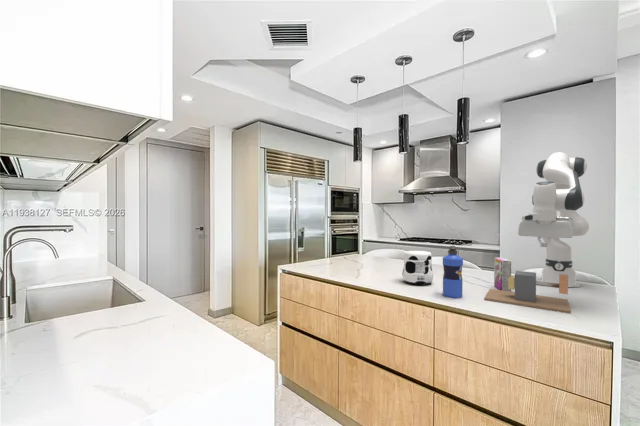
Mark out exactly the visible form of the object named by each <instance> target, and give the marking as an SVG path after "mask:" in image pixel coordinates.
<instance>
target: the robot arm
mask: <svg viewBox="0 0 640 426" xmlns="http://www.w3.org/2000/svg"><path fill="white" fill-rule="evenodd" d="M587 169H588V165H587V162H586V160H585V158H583V157H578V156H576V157H569V155H568V154H567V153H565V152H562V151H561V152H560V151H558V152H557V151H556V152H553V153H552V154H550V155H549V156H548V157H547V159H542V160H540V161H539V162H538V163H537V166H536V168H535V171H536V175H537V176H538V177H539V178H541V179H545V181H539V182H536V183H535V184H534V187H533V194H532V196H531V198H532V199H531V200H532V201H531V204H532V205H533V209H532V213H528V214H524V215H521V220H522V221H520V222H519V225H518V231H517V234H518V236H520V237H532V238H533V237H534V238H537V242H538V243H540V245H539V247H540V248H546V258H545V266H544V267H543V268H542V269H541V278H540V279H538V280H537V281H541V282H550V283H559V274H565V275H568V288H574V287H575V288H580V287H581V284H579V283H578V282H577V274H576V273H577V272H576V271H575V269H573V261H572V247H571V246H570V245H569V244H568V243H567V242H564V241H562V240H561V239H562V238H563V239H572V238H573V237H580V236H585V235H586V234H587V233H588V232H589V229H590V224H589V222H588V221H587V219H586V218H584V217H582V216H581V215H580V214H579V213H578V210H580V209H581V208H582V207H583V206H584V203H585V196H584V192H583V191H582V187H581V184H580V177H582V176H584V175H585V173H586V171H587ZM558 212H559V216H558V215H557V214H558ZM560 238H561V239H560ZM542 239H543V241H544V242H542Z"/></svg>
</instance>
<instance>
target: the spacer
mask: <svg viewBox="0 0 640 426" xmlns="http://www.w3.org/2000/svg"><path fill="white" fill-rule="evenodd" d="M508 289H511V290H514V291H515V275H512V274H511V275H509V277H508Z"/></svg>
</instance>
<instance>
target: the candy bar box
mask: <svg viewBox="0 0 640 426" xmlns="http://www.w3.org/2000/svg"><path fill="white" fill-rule="evenodd" d="M493 268H494V269H493V272H494V273H493V277H494V278H493V279H494V281H493V283H494V284H493V285H494V287H495V288H496V289H497V290H502V291H510V292H512V289H508V282H505V281H503V277H506V278H508V277H509V275H512V261H511V260H509V259H508V258H505V257H496V256H495V257H494V258H493Z"/></svg>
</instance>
